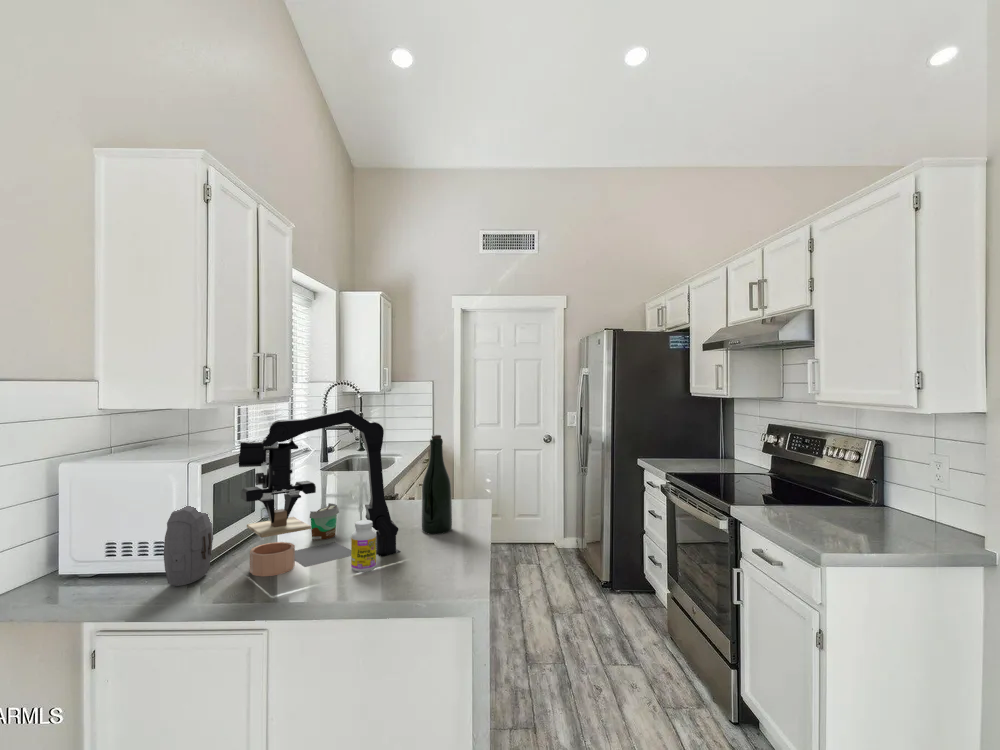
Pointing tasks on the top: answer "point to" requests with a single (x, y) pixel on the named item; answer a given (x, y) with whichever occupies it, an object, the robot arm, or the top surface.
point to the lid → (278, 525)
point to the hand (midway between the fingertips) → (278, 521)
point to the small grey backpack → (187, 546)
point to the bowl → (272, 559)
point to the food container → (324, 522)
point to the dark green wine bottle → (436, 492)
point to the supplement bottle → (363, 547)
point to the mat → (321, 554)
